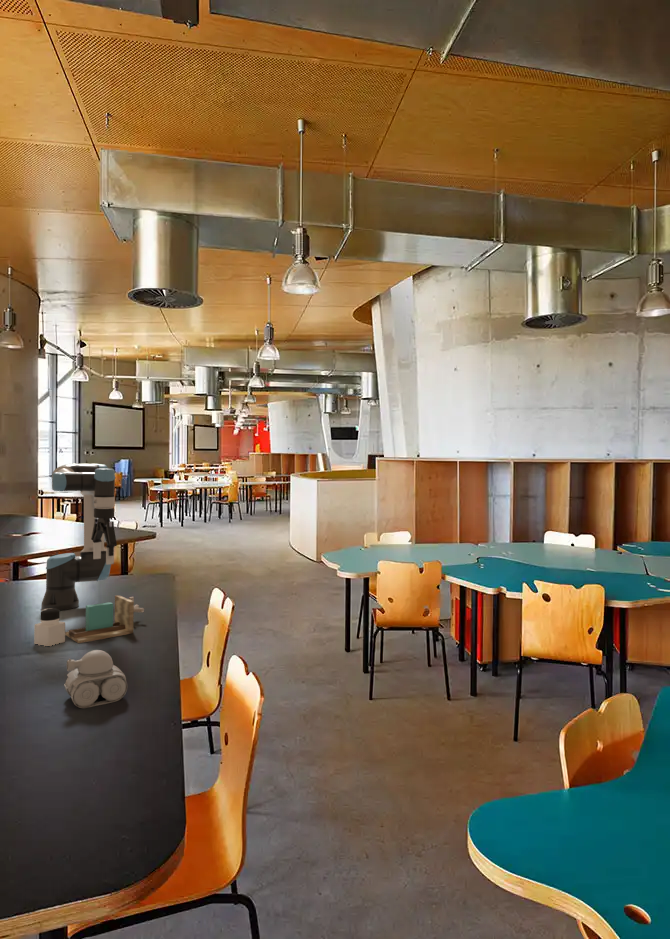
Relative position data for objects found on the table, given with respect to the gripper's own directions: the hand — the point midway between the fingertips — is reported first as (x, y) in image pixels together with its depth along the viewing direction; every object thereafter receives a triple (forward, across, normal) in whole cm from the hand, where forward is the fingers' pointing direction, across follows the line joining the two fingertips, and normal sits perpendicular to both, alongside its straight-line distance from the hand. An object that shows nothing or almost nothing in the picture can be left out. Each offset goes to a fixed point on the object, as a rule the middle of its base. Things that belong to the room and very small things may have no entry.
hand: (103, 561), depth 229 cm
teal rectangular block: (+24, +12, -6) cm, 27 cm away
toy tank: (+23, +73, -29) cm, 82 cm away
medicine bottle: (+25, +13, -23) cm, 36 cm away
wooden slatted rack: (+25, +12, -6) cm, 28 cm away
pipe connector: (+26, +3, +10) cm, 28 cm away
